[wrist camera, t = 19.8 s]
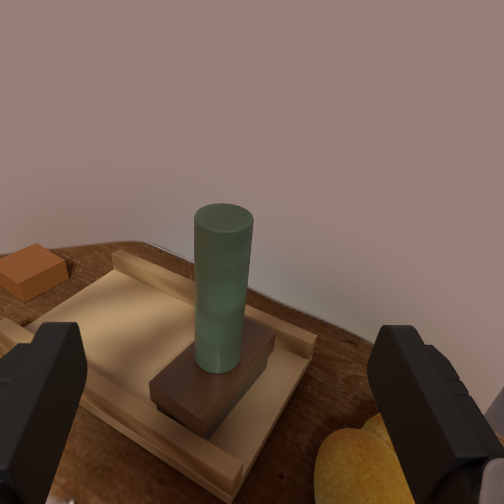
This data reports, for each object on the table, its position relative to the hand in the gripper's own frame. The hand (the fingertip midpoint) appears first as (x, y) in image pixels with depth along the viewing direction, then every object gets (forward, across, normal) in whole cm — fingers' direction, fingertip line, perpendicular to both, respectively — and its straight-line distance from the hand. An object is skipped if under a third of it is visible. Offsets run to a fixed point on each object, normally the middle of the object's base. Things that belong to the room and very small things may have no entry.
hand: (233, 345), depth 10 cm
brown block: (+19, +15, +14) cm, 28 cm away
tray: (+11, +4, +14) cm, 18 cm away
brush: (+8, 0, +12) cm, 15 cm away
